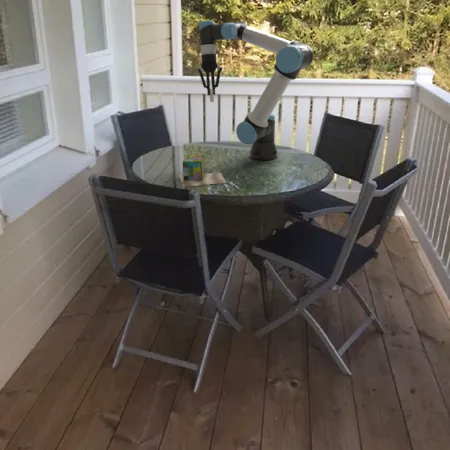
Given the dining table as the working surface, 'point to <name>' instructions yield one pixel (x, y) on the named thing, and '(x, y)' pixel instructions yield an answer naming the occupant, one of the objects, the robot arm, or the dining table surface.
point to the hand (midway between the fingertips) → (211, 101)
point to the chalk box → (193, 167)
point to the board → (204, 180)
